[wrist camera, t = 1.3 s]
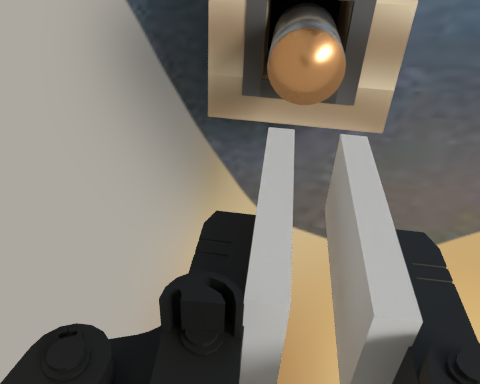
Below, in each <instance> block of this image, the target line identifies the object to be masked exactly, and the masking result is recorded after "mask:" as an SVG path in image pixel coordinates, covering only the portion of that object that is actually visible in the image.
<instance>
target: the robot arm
mask: <svg viewBox="0 0 480 384" xmlns="http://www.w3.org/2000/svg"><path fill="white" fill-rule="evenodd" d="M294 134H295V130H294V129H283V128H273V127H269V129H268V136H267V143H266V150H265V156H264V163H263V170H262V177H261V184H260V191H259V198H258V205H257V213H256V215H250V214H241V213H232V212H223V211H216V212H215V213H214V214H213V215H212V216H211V217H210V218H209V219H208V220H207V221H206V222H205V223H204V225H203V228H202V231H201V235H200V238H199V242H198V244H197V247H196V251H195V255H194V257H193V260H192V264H191V267H190V270H189V273H188V274H186V275H183V276H180V277H178V278H176V279H175V280H174V281H172V282H171V283H170V284H169V285H168V286H166V287H165V289H164V291H163V293H162V294H161V296H160V298H159V305H160V316H161V326H160V327H158V328H155V329H154V330H151V331H149V332H146V333H142V334H138V335H133V336H127V337H121V338H114V339H108V338H107V336H106V335H105V333H104V332H103V331H101V330H100V329H98V328H96V327H94V326H92V325H85V324H72V325H67V326H62V327H59V328H57V329H55V330H53V331H51V332H49V333H47V334H45V335H43V336H42V337H41V338H40V339H39V340H38V341H37V342H36V343H35V344H33V345H32V346H31V347H30V349H29V350H28V351H27V352H26V353H25V355H24V356H23V357H22V358H21V359H20V361H19V362H18V363H17V364H16V365H15V367H14V368H13V369H12V370H11V371H10V373H9V374H8V375H7V376H6V377H5V379H4V380H3V381H2V382H1V383H0V384H277V379H278V374H279V368H280V362H281V357H282V351H283V345H284V340H285V334H286V328H287V323H288V317H289V311H290V306H291V267H292V223H293V179H294ZM325 216H326V228H327V240H328V251H329V263H330V275H331V286H332V298H333V309H334V321H335V332H336V344H337V356H338V366H339V367H338V368H339V379H340V384H480V343H479V342H478V340H477V338H476V335H475V334H474V330H473V328H472V326H471V323H470V321H469V319H468V316H467V314H466V311H465V309H464V306H463V304H462V302H461V299H460V297H459V295H458V292H457V290H456V287H455V285H454V284H452V281H453V280H452V278H451V275H450V273H449V271H448V269H446V263H445V261H444V259H443V256H442V254H441V251H440V249H439V248H438V247H437V246H436V245H435V243H434V242H433V241H432V240H431V239H430V238H429V237H428V236H427V235H426V234H425V233H423V232H414V231H405V230H396V229H395V228H394V224H393V221H392V218H391V214H390V211H389V208H388V204H387V201H386V198H385V194H384V191H383V188H382V185H381V181H380V178H379V175H378V171H377V168H376V165H375V161H374V158H373V155H372V151H371V148H370V145H369V142H368V138H367V137H366V136H355V135H345V134H340V139H339V144H338V149H337V153H336V158H335V163H334V168H333V173H332V178H331V182H330V187H329V192H328V197H327V202H326V207H325Z"/></svg>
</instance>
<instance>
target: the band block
mask: <svg viewBox="0 0 480 384" xmlns="http://www.w3.org/2000/svg"><path fill="white" fill-rule="evenodd" d="M340 1H341V4H340V9H339V15H338V21H337V27H336V28H337V31H338V34H339V37H340V40H341V43H342V46H343V49H344V53H345V57H346V70H345V74H344V77H343V80H342V82H341V84H340V86H339V87H338V89H337V90H336V91H335V92H334V93H333V94H332V95H331V96H330V97H329V98H327V99H326V100H324V101H322V102H319V103H317V104H313V105H297V104H293V103H290V102H288V101H286V100H284V99H283V98H282V97H280V96H279V95H278V94H277V93H276V91H275V90H274V89H273V87H272V85H271V83H270V81H269V78H268V73H267V62H268V57H269V52H270V50H268V43H269V31H270V20H271V8H272V0H209V20H208V117H219V118H229V119H239V120H250V121H260V122H271V123H281V124H291V125H302V126H312V127H322V128H333V129H343V130H354V131H364V132H374V133H383V130H384V126H385V122H386V119H387V115H388V111H389V108H390V104H391V100H392V96H393V93H394V89H395V85H396V82H397V78H398V74H399V70H400V67H401V63H402V59H403V56H404V52H405V48H406V44H407V41H408V37H409V33H410V30H411V26H412V22H413V19H414V15H415V11H416V7H417V4H418V0H340Z"/></svg>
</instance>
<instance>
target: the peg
mask: <svg viewBox="0 0 480 384" xmlns="http://www.w3.org/2000/svg"><path fill="white" fill-rule="evenodd" d="M345 70H346V57H345V53H344V49H343V46H342V43H341V40H340V37H339V34H338V31H337V28H336V25H335V22H334V20H333V18H332V16H331V14H330V13H329V12H328V11H327V10H326V9H325V8H323V7H321V6H319V5H317V4H314V3H300V4H297V5H294V6H292V7H290V8H289V9H287V10H286V11H285V12H284V13H283V14H282V15H281V16H280V18H279V19H278V21H277V23H276V26H275V29H274V34H273V38H272V43H271V48H270V52H269V57H268V62H267V73H268V78H269V81H270V83H271V85H272V87H273V89H274V90H275V91H276V93H277V94H278V95H279V96H280V97H282V98H283V99H284V100H286V101H288V102H290V103H293V104H297V105H313V104H317V103H319V102H322V101H324V100H326V99H327V98H329V97H330V96H331V95H332V94H333V93H334V92H335V91H336V90H337V89H338V87H339V86H340V84H341V82H342V80H343V77H344V74H345Z"/></svg>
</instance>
